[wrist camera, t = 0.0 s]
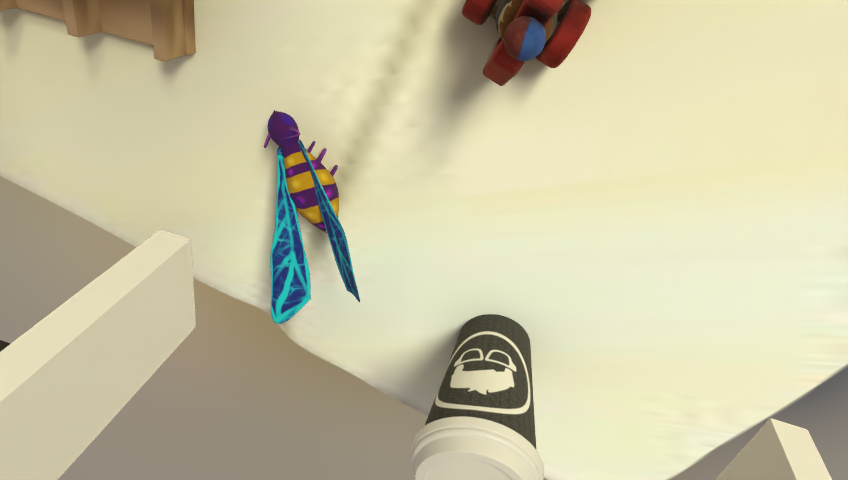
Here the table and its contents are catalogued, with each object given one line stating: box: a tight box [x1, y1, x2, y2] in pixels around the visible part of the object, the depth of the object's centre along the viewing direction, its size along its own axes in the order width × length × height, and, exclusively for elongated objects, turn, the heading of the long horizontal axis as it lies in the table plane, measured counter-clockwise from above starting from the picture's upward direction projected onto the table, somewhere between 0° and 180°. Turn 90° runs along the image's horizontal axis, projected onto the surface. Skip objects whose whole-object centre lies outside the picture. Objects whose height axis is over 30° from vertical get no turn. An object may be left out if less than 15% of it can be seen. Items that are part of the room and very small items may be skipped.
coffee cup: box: [410, 315, 544, 480], centre depth 42 cm, size 10×10×15 cm
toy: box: [264, 110, 360, 324], centre depth 39 cm, size 7×14×10 cm, turn 30°
